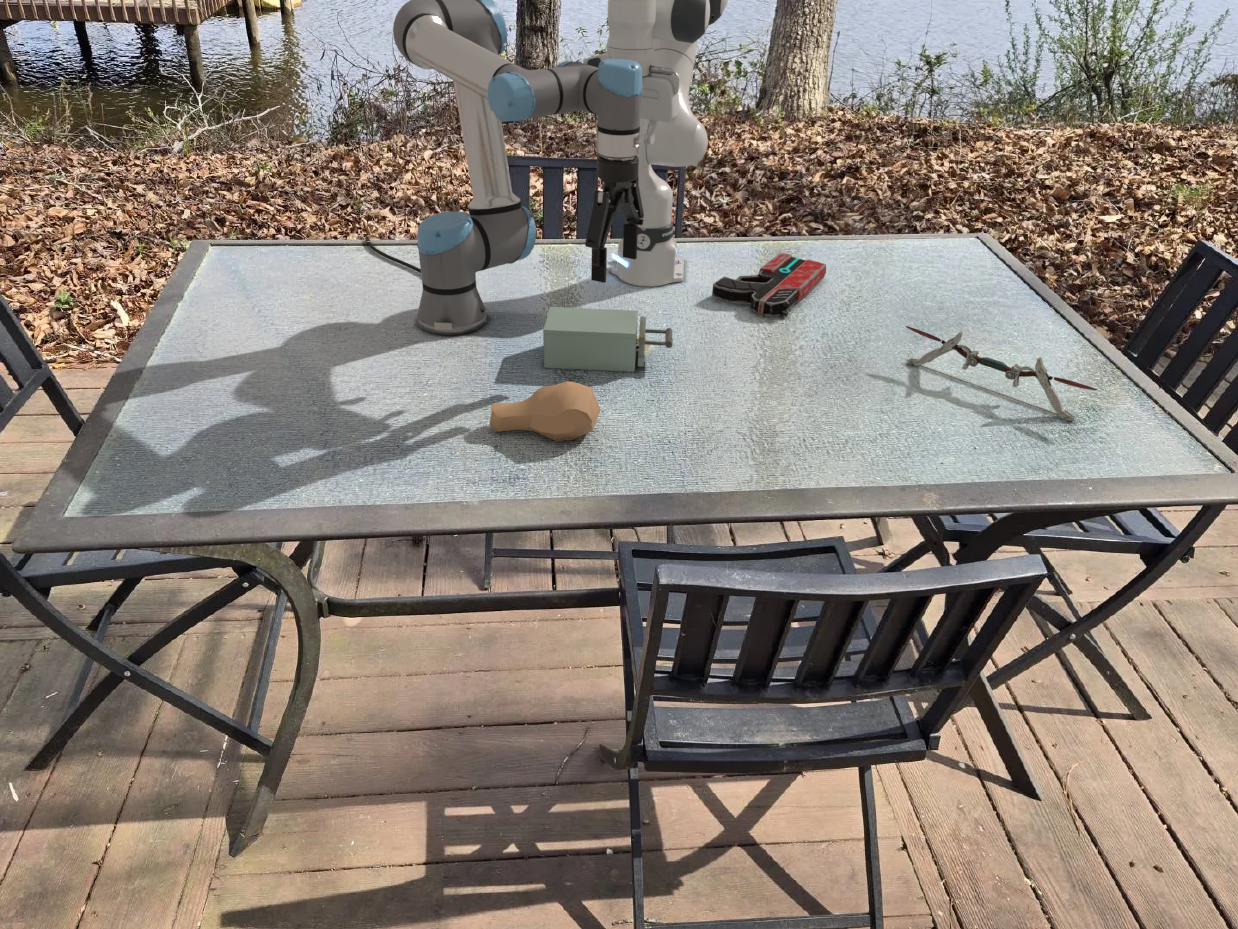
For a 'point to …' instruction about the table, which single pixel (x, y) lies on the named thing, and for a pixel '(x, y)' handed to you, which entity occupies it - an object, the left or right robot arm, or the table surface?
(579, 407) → the squash
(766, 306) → the gun
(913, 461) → the table surface
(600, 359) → the grey box
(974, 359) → the bow
